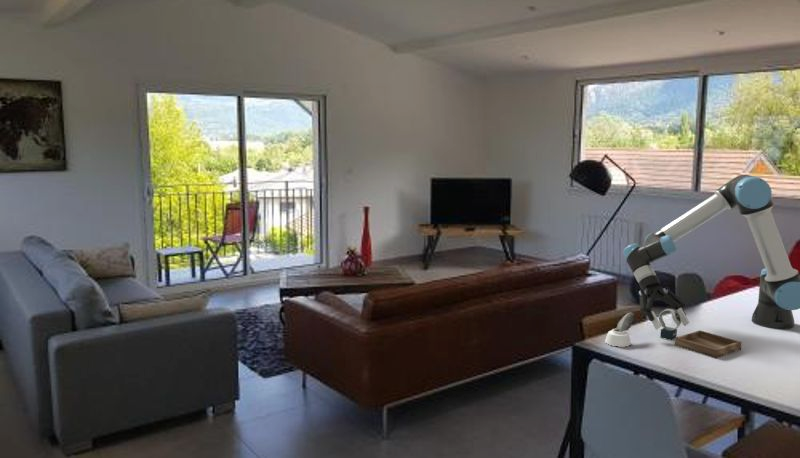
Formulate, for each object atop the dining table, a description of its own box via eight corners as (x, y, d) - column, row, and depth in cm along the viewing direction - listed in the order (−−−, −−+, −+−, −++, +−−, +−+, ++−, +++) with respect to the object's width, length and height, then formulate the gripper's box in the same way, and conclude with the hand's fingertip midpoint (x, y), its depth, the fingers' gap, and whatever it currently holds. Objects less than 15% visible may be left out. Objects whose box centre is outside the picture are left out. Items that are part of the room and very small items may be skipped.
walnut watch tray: (699, 337, 240) (699, 330, 240) (740, 349, 227) (741, 341, 227) (674, 345, 231) (675, 337, 231) (716, 358, 218) (716, 350, 218)
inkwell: (600, 343, 234) (602, 317, 232) (619, 332, 247) (620, 307, 246) (625, 349, 228) (626, 322, 226) (642, 337, 241) (644, 312, 240)
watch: (677, 341, 236) (679, 313, 235) (655, 336, 242) (657, 309, 240) (681, 337, 241) (683, 310, 239) (660, 333, 246) (662, 306, 244)
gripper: (666, 281, 257) (692, 327, 246) (617, 286, 249) (641, 334, 237) (677, 271, 252) (704, 318, 240) (626, 276, 243) (652, 324, 232)
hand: (672, 326), depth 239 cm, fingers open, 13 cm apart
